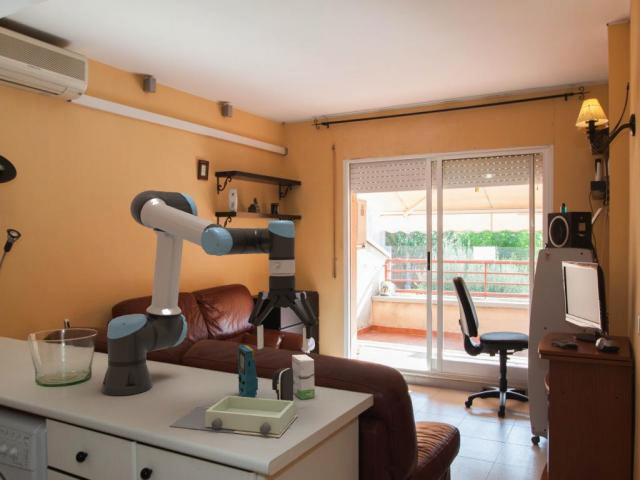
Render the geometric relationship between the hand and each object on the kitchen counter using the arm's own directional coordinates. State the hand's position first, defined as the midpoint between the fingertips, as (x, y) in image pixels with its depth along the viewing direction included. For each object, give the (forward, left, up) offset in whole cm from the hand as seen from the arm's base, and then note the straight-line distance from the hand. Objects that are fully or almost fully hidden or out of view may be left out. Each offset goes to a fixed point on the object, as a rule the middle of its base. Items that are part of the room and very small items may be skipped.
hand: (282, 349), depth 145 cm
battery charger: (0, 0, -17) cm, 17 cm away
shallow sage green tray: (-5, -12, -17) cm, 22 cm away
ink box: (+2, +14, -17) cm, 22 cm away
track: (-9, -12, -17) cm, 23 cm away
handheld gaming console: (-14, +8, -17) cm, 24 cm away
